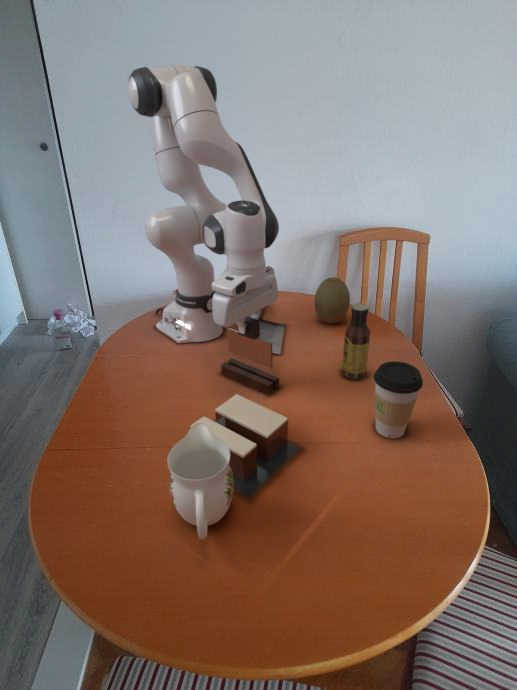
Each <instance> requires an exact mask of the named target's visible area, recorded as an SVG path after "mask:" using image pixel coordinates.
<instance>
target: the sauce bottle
mask: <svg viewBox="0 0 517 690" xmlns="http://www.w3.org/2000/svg"><path fill="white" fill-rule="evenodd" d="M369 308H370V307H369V305H367V304H365V303H361V302H360V303H354V304H352V305H351V317H350V318H351V319H350V323H349V325H347V327H346V329H345V331H344V338H343V339H344V340H343V351H342V362H341V371H342V375H343V376H344V377H346V378H348V379H349V380H361V379H363V378H364V377H365V375H366V370H367V366H368V365H367V364H368V357H369V350H370V349H369V348H370V336H371V330H370V328H369V326H368V324H367V322H368V321H367V319H368V314H369Z"/></svg>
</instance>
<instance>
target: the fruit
mask: <svg viewBox="0 0 517 690" xmlns="http://www.w3.org/2000/svg"><path fill="white" fill-rule="evenodd" d="M313 301H314V303H313V305H314V310H315V313H316V316H317V318H318V319H319V320H320V321H322V322H323V323H326V324H330V325H331V324H337V323H339V322H342V320H343V319H344V318H345V317H346V316H347V313H348V311H349V308H350V305H351V304H350V303H351V295H350V291H349V289H348V286H347V284H346V283H345V282H344V281H343V280H342V279H340V278H338V277H328V278H326V279H324V280H323V281H322V282H321V283H320V284H319V285H318V287H317V288H316V291H315V295H314V300H313Z"/></svg>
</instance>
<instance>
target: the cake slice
mask: <svg viewBox="0 0 517 690" xmlns="http://www.w3.org/2000/svg"><path fill="white" fill-rule="evenodd" d="M196 423H203V424H205V425H206V426H207V427H208V428H209V430H210V431H211V433H212V434H213V435H215V436H216V437H218V438H220V439H221V440H223V441H224V442H225V443H226V445H227V446H228V448H229V450H230V462H229V465H230V467H231V469H232V473H233V475H234V476H236V477H237V478H239V479H241V480H242V481H245V480H247V479H248V478H249V477H250V476H251V475H252V474H253V473H254V472H255V471H256V470H257V444H255V443H254V442H252V441H250V440H248V439H246V438H244V437H242V436H240V435H239V434H237V433H235V432H233V431H231V430H229V429H227V428H225V427H224V426H222V425H220V424H218V423H216V421H214V420H212V419H210V418H209V417H207V416H202V417H201V418H199V419H198V420H196V421H195V422H193V423H192V424H191V425H190V427H189V430H190V429H191V427H192V426H193V425H194V424H196Z"/></svg>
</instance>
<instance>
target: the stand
mask: <svg viewBox="0 0 517 690" xmlns="http://www.w3.org/2000/svg"><path fill="white" fill-rule="evenodd" d="M220 371H221V375H223V376H225V377H227V378H229V379H231V380H233V381H236V382H238V383H240V384H243V385H245V386H247V387H249V388H252V389H254V390H256V391H258V392H260V393H263V394H265V395H267V396H270V395H271V394H273V392H274V391H278V389H279V388H280V376H279V377H278V376H276V375H273V374H272V373H269V372H266V371H264V370H261V369H259V368H256V367H255V366H252V365H249V364H247V363H245V362H242V361H239V360H237V359H235V358H232V357H231V358H229V359H227V362H225V361H224V362H223V363H221V364H220Z"/></svg>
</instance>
